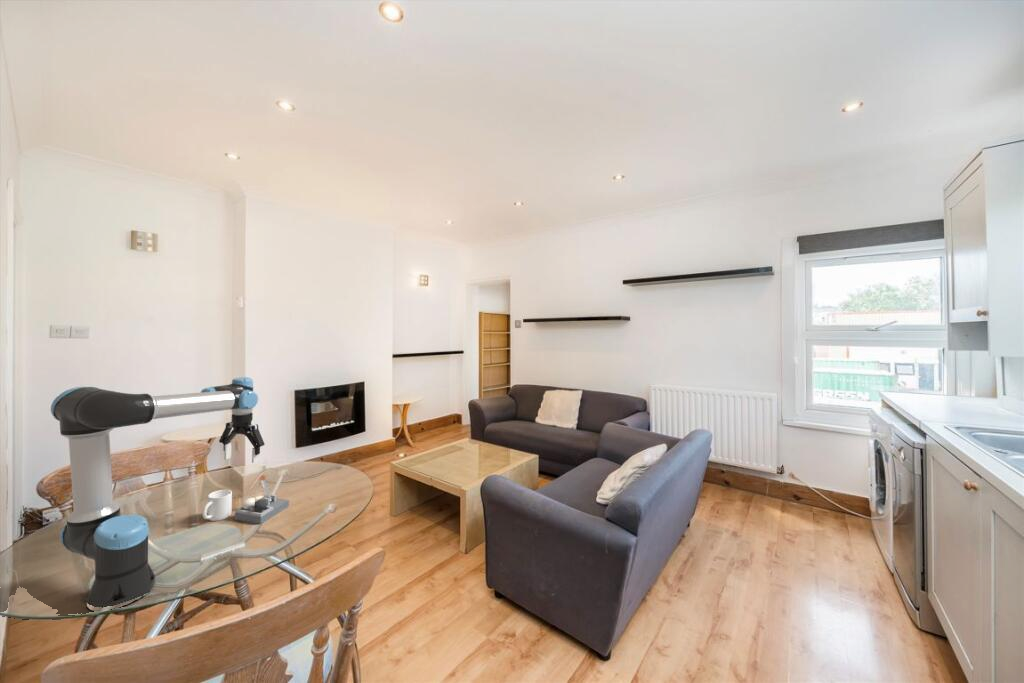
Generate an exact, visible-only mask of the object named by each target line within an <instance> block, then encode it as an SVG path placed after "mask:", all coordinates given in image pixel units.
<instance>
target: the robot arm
mask: <svg viewBox="0 0 1024 683" xmlns="http://www.w3.org/2000/svg"><path fill="white" fill-rule="evenodd" d="M258 402H259V396H258V394H257V392H256V391H254V380H253V378H251V377H245V376H243V377H235V378H233V379H232V380H231V383H230V384H225V385H224V384H223V385H217V386H210V387H205V388H203V389H202V390H201V391H200V392H193V393H192V392H191V393H180V394H164V395H151V394H149V393H125V392H119V391H114V390H107V389H102V388H100V387H99V388H98V387H95V386H76V387H72V388H69V389H66V390H65V391H63V392H61V393H60V394H59V395H58V396H56V397H55V399H53V401H52V403H51V405H50V413H51V415H52V417H53V418H54V419H55V420H56V421H59V429H60V430H59V431H60V436H62V437H65V438H67V439H68V448H69V449H68V450H69V462H70V464H69V465H70V478H71V479H70V480H71V494H72V508H73V510H72V512H71V513H69V515H68V516H67V517H66V524H65V525H64V526H63V527H62V529H61V531H60V534H59V540H60V543H61V545H62V546H63V547H64V548H65V549H67V550H68V551H69V552H71V553H75V554H77V555H80V556H82V557H86V558H88V559H90V560H94V580H93V583H92V585H91V588H90V589H89V590H90V591H89V593H88V594H87V597H86V599H85V600H86V602H87V603H88V604H89V605H92V606H94V607H102V608H103V607H107V606H114V605H117V604H120V603H123V602H126V601H129V600H132V599H135V598H137V597H140V596H143V595H144V594H146V593H148V592H149V591H150V590H151V589H152V588H153V587H155V586H156V575H155V573H154V571H153V569H152V567H151V566H150V563H149V533H150V528H149V523H148V519H147V518H146V517H144V516H143V515H140V514H130V515H129V514H124V515H122V514H121V504H120V503H118V502H116V501H114V497H113V480H112V479H113V477H112V475H113V474H112V459H111V441H110V432H111V431H113V430H114V429H115V428H116V429H117V428H123V427H132V426H137V425H143V424H149V423H150V422H152V420H157V419H166V418H174V417H181V416H183V417H184V416H190V415H197V414H205V413H212V412H213V413H214V412H220V411H221V412H223V411H229V410H230V411H231V421H229V422H226V423H225V427H224V430H223V432H222V433H221V436H220V438H219V440H218V442H219V443H221V444H222V445H223V450H222V451H223V453H224V456H223V457H224V460H228V459H230V458H232V443H231V442H232V441H233V439H234V438H235V437H236V436H237V435H244V436H245V437H246V439H248V441H249V443H250V444H251V445H252V447H253V448H252V449H251V463H252V464H253V463H256V462H258V461H259V458H260V457H259V455H260V453H261V447H263V446H265V445H266V444H265V441H264V439H263V436H262V434H261V433H260V432H261V431H260V429H259V425H258V424H256V423H255V424H252V421H253V415H254V414H253V411H254V410H253V409H254V408H255V407H256V406H257V404H258ZM154 585H155V586H154ZM153 589H154V588H153ZM153 589H152V590H153ZM152 590H151V591H152ZM151 591H150V592H151ZM150 592H149V593H150ZM149 593H148V594H149Z"/></svg>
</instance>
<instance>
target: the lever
mask: <svg viewBox="0 0 1024 683" xmlns="http://www.w3.org/2000/svg"><path fill="white" fill-rule="evenodd" d="M258 480H259V482H260V483H261V485H262V488H263V490H264V493H265V496H266V497H267V498H269V499H270V502H272V501H273V498H271V495H272V494H271V493H270V490H269V487H268V485H267V482H266V476H265V475H261V476H258Z"/></svg>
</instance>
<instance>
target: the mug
mask: <svg viewBox="0 0 1024 683" xmlns="http://www.w3.org/2000/svg"><path fill="white" fill-rule="evenodd" d="M232 500H233V491H232V490H231V489H220V490H215V491H213V492H211V493H209V494H208V495H207V503H205V505H204V507H203V508H202V511H201V512H202V517H203V519H204V520H208V521H212V522H219V521H222V520H225V519H227V518H229V517H230V516H231V514H232V507H233V506H232V505H233V501H232Z"/></svg>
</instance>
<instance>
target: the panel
mask: <svg viewBox="0 0 1024 683" xmlns="http://www.w3.org/2000/svg"><path fill="white" fill-rule="evenodd" d="M270 495H271V498H273V501H272V502H270V499H269V498H267V497H266V495H265V496H262V497H261V498H259V499H257V500H256V501H258V500H261V499H265V500H267V508H266V509H264V510H261V511H255V506H254V507H252V508H249V509H243V505H242V506H241V507H239V508H237V509H235V512H234V520H235V521H241V522H245V523H246V522H247V523H253V524H258V525H262V524H263V523H264V522H266V521H268V520H269V519H271V518H273V517H274V516H276V515H278V514H279V513H281V512H282V511H284V510H285V509H288V508H289V507H290V500H289V499H284V498H278V497H277V495H276V494H270ZM288 506H289V507H288Z"/></svg>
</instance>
